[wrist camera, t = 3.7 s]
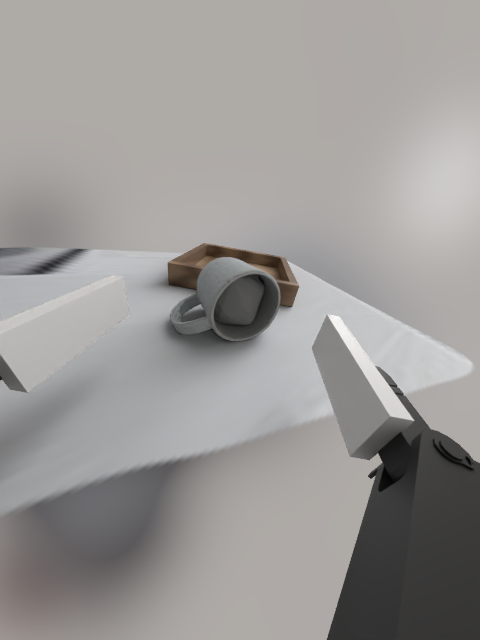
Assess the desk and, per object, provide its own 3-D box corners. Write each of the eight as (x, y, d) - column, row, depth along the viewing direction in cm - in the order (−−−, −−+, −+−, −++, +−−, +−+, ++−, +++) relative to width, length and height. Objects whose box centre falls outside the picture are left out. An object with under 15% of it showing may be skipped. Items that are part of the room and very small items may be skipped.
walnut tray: (168, 284, 29) (167, 262, 27) (203, 257, 46) (204, 243, 45) (292, 306, 29) (299, 286, 27) (281, 271, 46) (284, 257, 44)
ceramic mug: (242, 303, 27) (250, 250, 23) (272, 336, 21) (290, 271, 17) (166, 311, 23) (160, 246, 19) (178, 355, 17) (172, 273, 13)
